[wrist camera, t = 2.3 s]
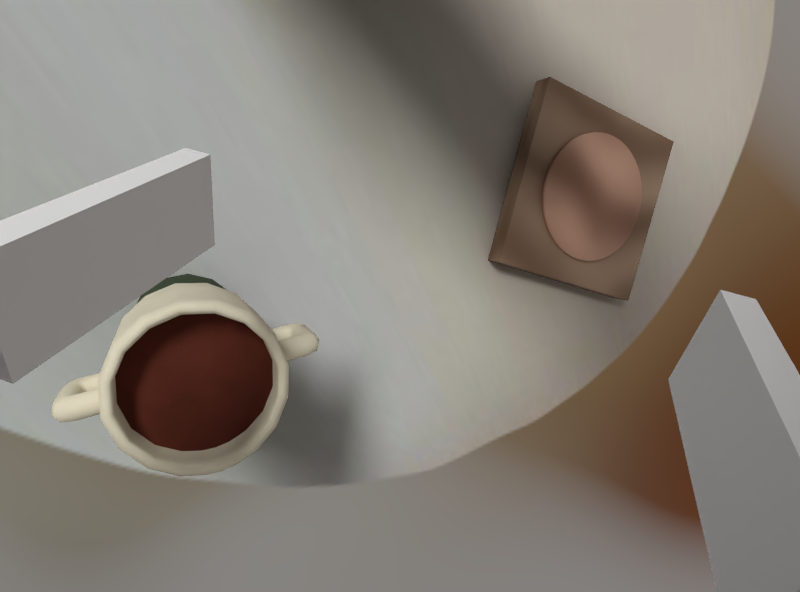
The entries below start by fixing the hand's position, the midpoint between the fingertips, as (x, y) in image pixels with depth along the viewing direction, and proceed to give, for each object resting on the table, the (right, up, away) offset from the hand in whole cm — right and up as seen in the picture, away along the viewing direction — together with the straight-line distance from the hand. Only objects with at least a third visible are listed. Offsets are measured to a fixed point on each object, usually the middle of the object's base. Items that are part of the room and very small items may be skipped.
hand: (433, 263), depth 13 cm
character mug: (-14, -2, +19) cm, 23 cm away
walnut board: (+14, +7, +29) cm, 33 cm away
